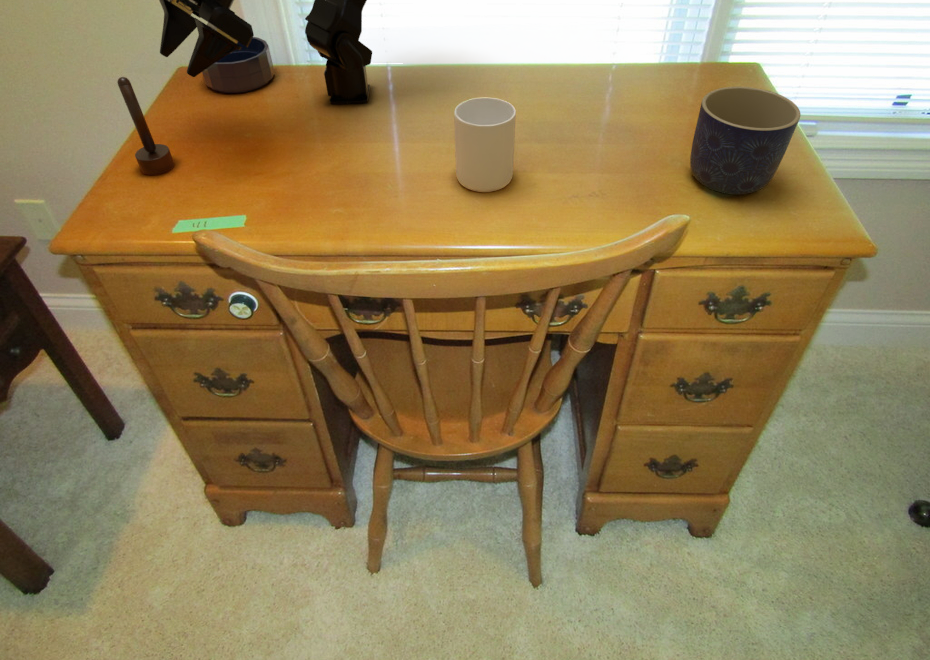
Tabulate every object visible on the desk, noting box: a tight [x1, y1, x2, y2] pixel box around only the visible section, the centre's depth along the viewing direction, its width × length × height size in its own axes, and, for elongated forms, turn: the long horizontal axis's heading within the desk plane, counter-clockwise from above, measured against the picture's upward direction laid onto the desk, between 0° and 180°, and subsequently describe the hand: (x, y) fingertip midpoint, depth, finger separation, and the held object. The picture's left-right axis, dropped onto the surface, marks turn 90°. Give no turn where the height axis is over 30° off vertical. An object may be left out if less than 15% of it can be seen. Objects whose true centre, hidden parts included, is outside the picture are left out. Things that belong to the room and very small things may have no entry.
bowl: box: [201, 36, 276, 94], centre depth 115 cm, size 12×12×6 cm
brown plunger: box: [116, 76, 175, 176], centre depth 91 cm, size 5×5×14 cm
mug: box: [453, 96, 517, 193], centre depth 90 cm, size 12×8×10 cm
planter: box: [689, 85, 801, 195], centre depth 87 cm, size 12×12×11 cm
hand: (176, 65), depth 89 cm, fingers open, 9 cm apart
